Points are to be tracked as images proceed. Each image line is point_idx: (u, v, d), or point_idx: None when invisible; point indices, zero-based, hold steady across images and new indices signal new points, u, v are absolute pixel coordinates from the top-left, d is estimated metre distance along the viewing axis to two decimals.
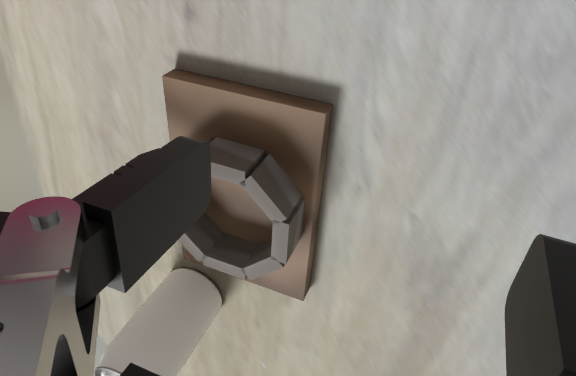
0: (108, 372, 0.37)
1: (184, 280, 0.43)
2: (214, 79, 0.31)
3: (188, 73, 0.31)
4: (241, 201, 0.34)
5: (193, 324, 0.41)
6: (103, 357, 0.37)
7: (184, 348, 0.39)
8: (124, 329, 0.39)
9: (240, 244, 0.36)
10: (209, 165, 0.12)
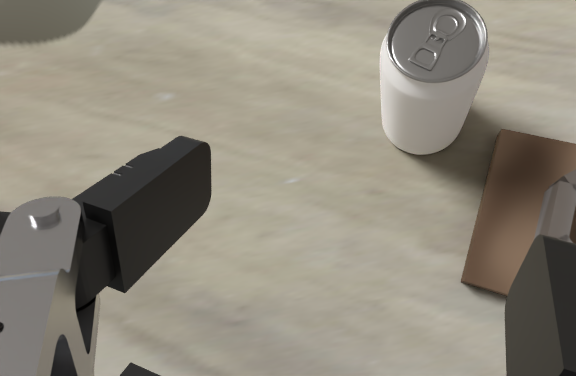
0: (465, 26, 0.26)
1: None
2: None
3: None
4: None
5: (439, 133, 0.31)
6: None
7: (431, 123, 0.29)
8: None
9: None
10: (209, 165, 0.12)
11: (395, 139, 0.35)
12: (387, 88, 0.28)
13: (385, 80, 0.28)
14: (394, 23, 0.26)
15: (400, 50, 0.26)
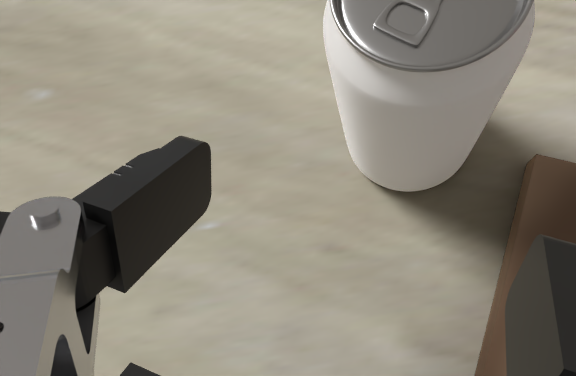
0: None
1: None
2: None
3: None
4: None
5: (434, 163, 0.18)
6: None
7: (419, 148, 0.16)
8: None
9: None
10: (209, 165, 0.12)
11: (364, 167, 0.22)
12: (338, 84, 0.15)
13: (332, 68, 0.15)
14: None
15: (357, 7, 0.13)
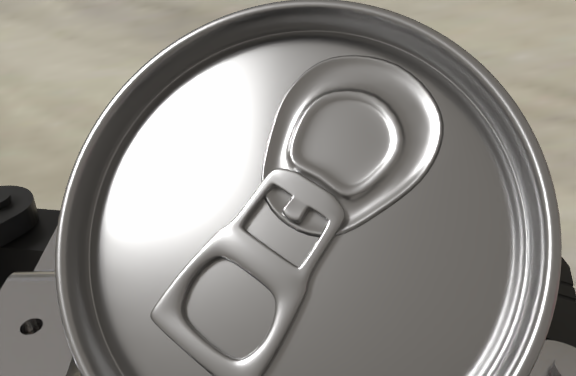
0: (435, 155, 0.05)
1: None
2: None
3: None
4: None
5: None
6: None
7: None
8: None
9: None
10: None
11: None
12: None
13: None
14: (116, 119, 0.06)
15: (127, 254, 0.05)
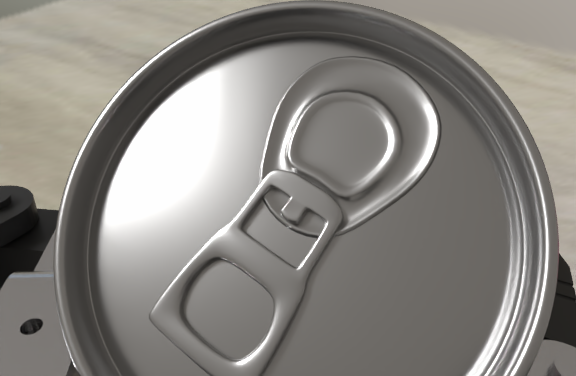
0: (432, 156, 0.05)
1: None
2: None
3: None
4: None
5: None
6: None
7: None
8: None
9: None
10: None
11: None
12: None
13: None
14: (114, 120, 0.06)
15: (126, 255, 0.05)
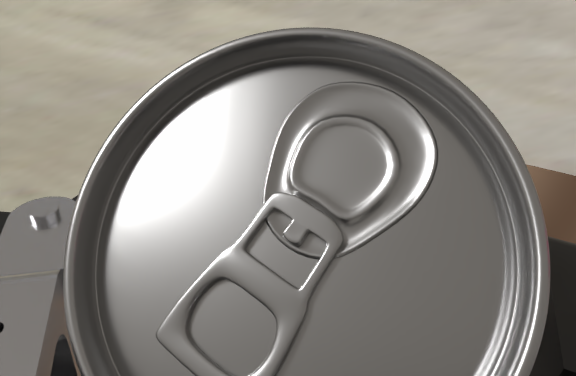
0: (429, 181, 0.05)
1: None
2: None
3: None
4: None
5: None
6: None
7: None
8: None
9: None
10: None
11: None
12: None
13: None
14: (121, 142, 0.06)
15: (133, 274, 0.06)
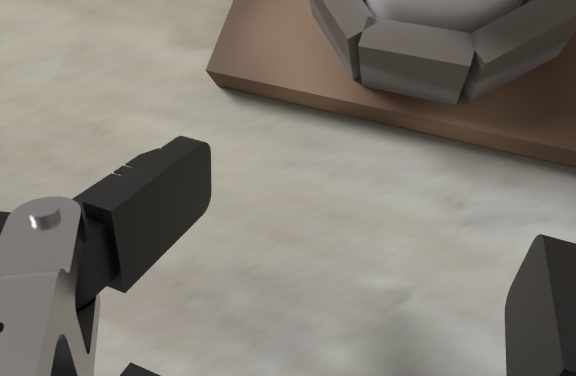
0: None
1: None
2: None
3: None
4: None
5: None
6: None
7: None
8: None
9: None
10: (209, 165, 0.12)
11: (389, 15, 0.17)
12: None
13: None
14: None
15: None
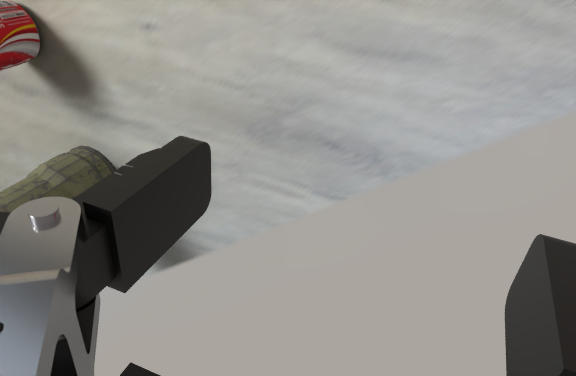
0: None
1: None
2: None
3: None
4: None
5: None
6: None
7: None
8: None
9: None
10: (209, 165, 0.12)
11: None
12: None
13: None
14: None
15: None
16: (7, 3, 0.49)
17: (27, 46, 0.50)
